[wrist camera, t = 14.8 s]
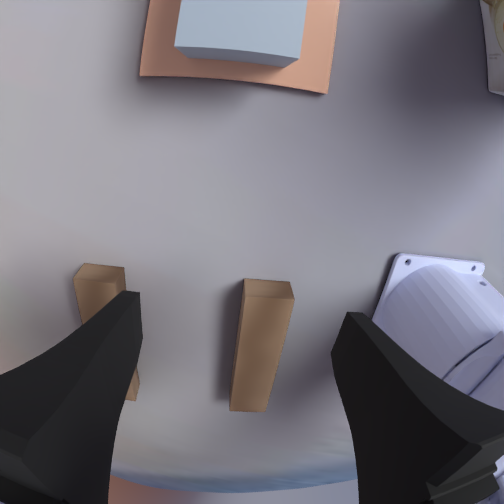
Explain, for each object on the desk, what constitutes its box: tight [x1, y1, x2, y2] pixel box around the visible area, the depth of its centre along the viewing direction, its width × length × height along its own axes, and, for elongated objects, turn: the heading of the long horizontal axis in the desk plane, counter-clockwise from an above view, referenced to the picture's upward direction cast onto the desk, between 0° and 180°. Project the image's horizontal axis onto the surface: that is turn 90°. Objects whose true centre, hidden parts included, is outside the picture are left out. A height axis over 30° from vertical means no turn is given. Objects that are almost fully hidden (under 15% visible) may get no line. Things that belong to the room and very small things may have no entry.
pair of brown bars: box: [73, 263, 295, 412], centre depth 22 cm, size 14×12×2 cm
